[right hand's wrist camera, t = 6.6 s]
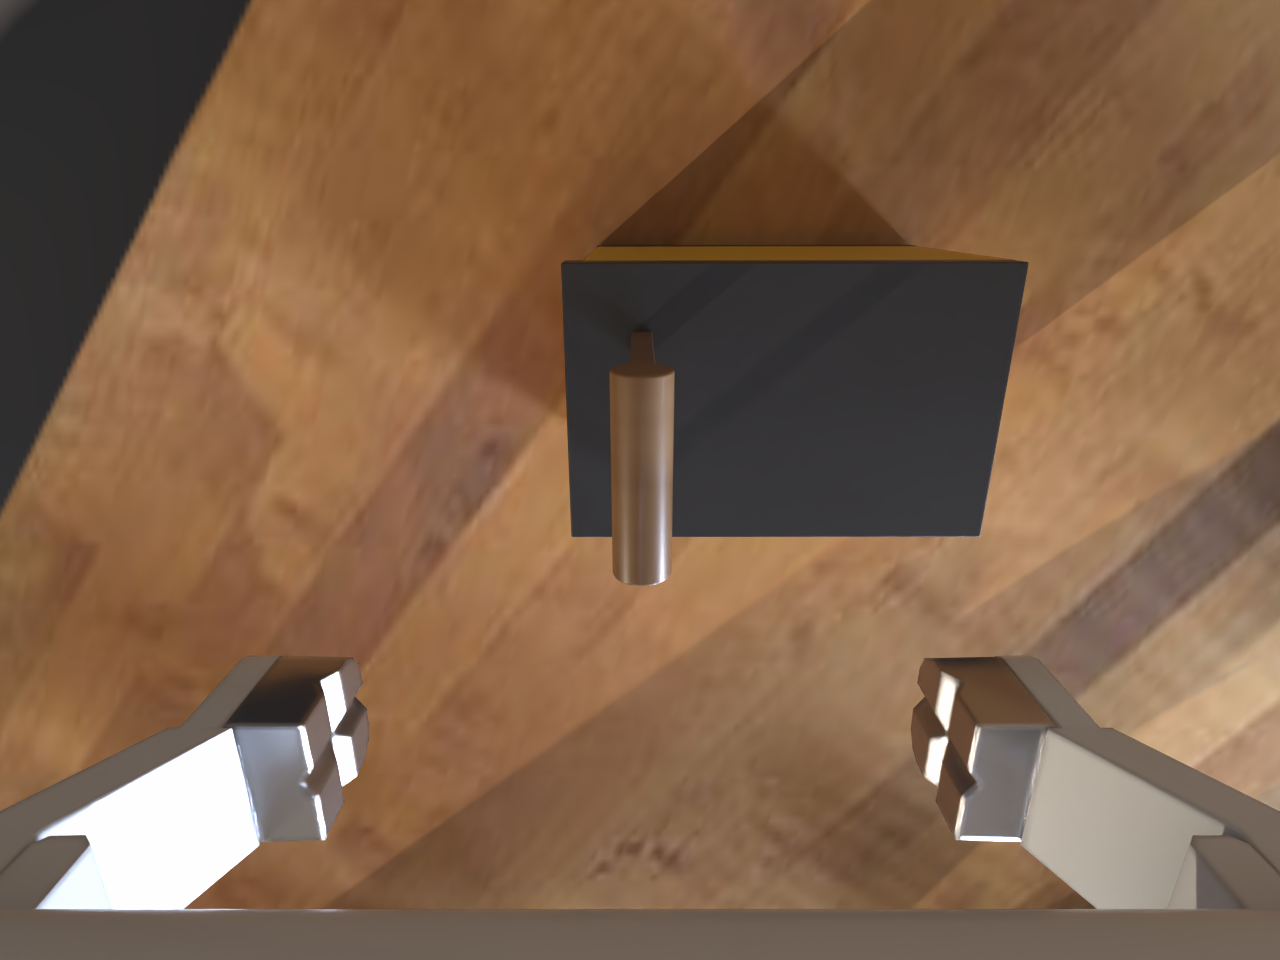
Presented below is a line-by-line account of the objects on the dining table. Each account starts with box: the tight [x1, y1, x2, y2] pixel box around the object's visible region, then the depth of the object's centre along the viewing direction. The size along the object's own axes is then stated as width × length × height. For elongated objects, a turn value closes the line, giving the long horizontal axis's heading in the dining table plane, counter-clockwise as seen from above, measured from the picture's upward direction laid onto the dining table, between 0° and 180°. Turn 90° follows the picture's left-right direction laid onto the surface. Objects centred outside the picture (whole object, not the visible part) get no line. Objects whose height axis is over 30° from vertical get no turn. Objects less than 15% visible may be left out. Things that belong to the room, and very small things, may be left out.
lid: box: [561, 260, 1028, 586], centre depth 22 cm, size 15×10×9 cm, turn 90°
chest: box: [583, 245, 1009, 261], centre depth 31 cm, size 15×10×10 cm
